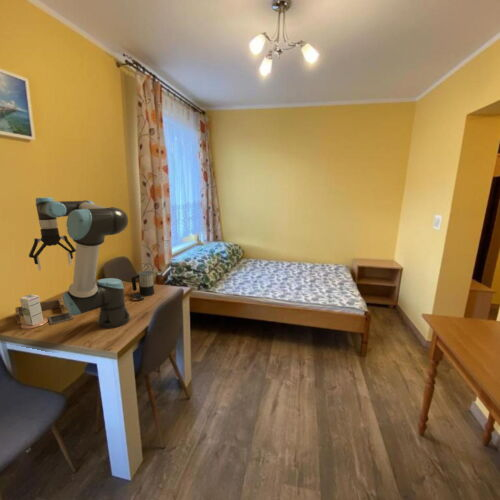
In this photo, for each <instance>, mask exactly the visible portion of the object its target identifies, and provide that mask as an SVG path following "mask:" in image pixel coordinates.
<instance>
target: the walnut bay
mask: <svg viewBox="0 0 500 500" xmlns="http://www.w3.org/2000/svg"><path fill="white" fill-rule="evenodd" d="M40 305H41V311H42V312H45V311H49V310H53V309H54V310H55V309H57V308H59V310H60V312H61V314H64V313H66V312H65V305H64V302H63V300H62V298H55V299H51V300H46V301H41V302H40ZM21 317H23V312H22V307H21V306H17V307H15V318H16V322H17V325H20V324H21Z"/></svg>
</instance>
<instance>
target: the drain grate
mask: <svg viewBox="0 0 500 500" xmlns="http://www.w3.org/2000/svg"><path fill="white" fill-rule="evenodd" d="M47 319H48V322H49V324H50V326H52V325H57V324H60V323H61V324H62V323H64V322H68V321H72V320H74V317H73V315H71V314H70V313H69V312H68V311H67V312H65V313H60V314H56V315H52V316H48V317H47Z"/></svg>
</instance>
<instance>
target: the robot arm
mask: <svg viewBox="0 0 500 500" xmlns="http://www.w3.org/2000/svg"><path fill="white" fill-rule="evenodd" d="M35 206H36V211H37V219H38V224H39V227H40V236H41V237H40V238H35V237H34V239H33V245H32V247H31V249H30V252H29V254H28V257H29V258H30V259H31V258H33V261H34V264H35V265H37V269H38V271H42V268H41V263H40V262H41V261H40V258H39V256H40V255H41V253H42V252H43V250H44V249H45V248H46V247H47V246H48V247H51V246H57V245H58V246H60V247H62V248H63V250H65V251H67V261H68V265H69V266H72V265H73V264H72V260H73V259H74V268H73V279H72V280H73V281H72V283H71V284H69V286H68V291H65V292H63V293H62V296H61V297H62V303H63V305H64V308H66V311H67V313H68V312H69V313H70V314H71V315H72V317H73V316H80V315H83V314H86V313H88V312H91V311H94V310H97V309H100V310H99V314H98V319H97V325H98V327H100V328H102V329H113V328H119V327H121V326H124V325H126V324H127V323H129V321H130V320H131V315H130V313H129V310H128V308H127V307H126V301H125V292H124V291H125V288H124V284H123V281H122V280H121V279H119V278H115V277H114V278H110V277H108V278H101V279H98V280H97V281H96V277H97V268H98V262H99V261H98V260H99V254H100V253H99V252H100V246H101V245H102V244H104V242H105V238H106V236H113V235H118V234H120V233H122V232H123V231H124V230H125V229H126V228H127V226H128V224H129V217H128V214H127V212H125V211H124V210H123V209H121V208H119V207H115V206H110V207H107V206H102V205H100V204H99V205H98V204H95V203H94V202H93V201H92V200H73V201H71V200H69V201H67V200H65V201H64V200H62V201H59V200H58V201H55V199H54V198H53V197H52V196H51V197H46V196H45V197H36V198H35ZM61 217H62V218H63V217H67V218H66V231H67V235H68V237H70V238H71V240H72V241H73V242H74V243H75V247H74V246H73V245H72V244H71V242H70V241H69V240H68V237H67V235H65V234H64V235H60V232H59V228H58V227H59V226H58V225H59V224H58V219H57V218H61ZM61 240H62V241H64V242H65V244H67V246H68V247H69V248H70V249H69V248H68V247H67V246H66V245H64V244H63V243H61V242H60V241H61ZM40 242H42V244H41V246H40V247H39V248H38V249H37V247H38V245H39V243H40ZM36 249H37V251H36ZM35 251H36V252H35ZM74 252H75V253H74ZM73 253H74V255H75V256H74V255H73ZM73 256H74V257H75V258H74V257H73Z"/></svg>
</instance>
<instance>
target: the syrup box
mask: <svg viewBox="0 0 500 500" xmlns="http://www.w3.org/2000/svg"><path fill="white" fill-rule="evenodd" d="M19 300H20V301H19V302H20V307H22V312H23V316H22V317H23V320H24V322H25V324H27V325H32V326H33V325H36V324H38V323H40V322H42V321H43V318H44V317H43V311H41V305H40V296H39V295H37V294H32V293H30V294H28V295H25V296H22V297H20V298H19ZM24 322H23V323H24Z"/></svg>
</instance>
